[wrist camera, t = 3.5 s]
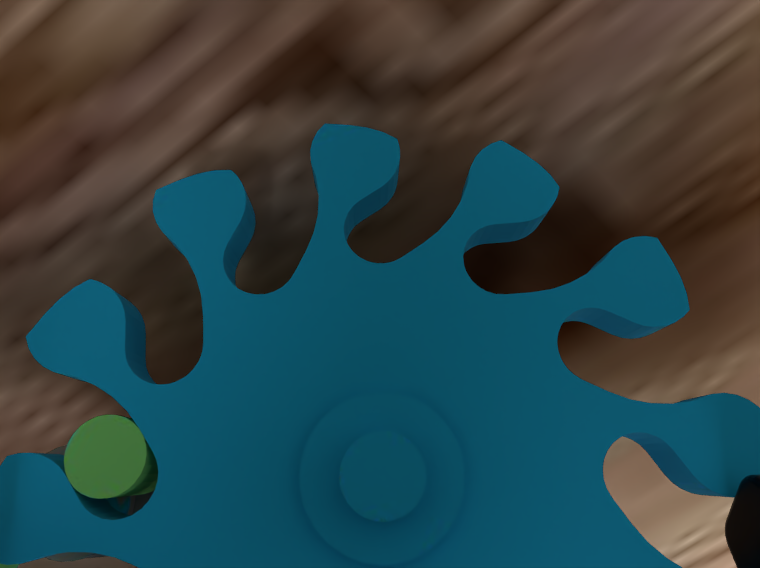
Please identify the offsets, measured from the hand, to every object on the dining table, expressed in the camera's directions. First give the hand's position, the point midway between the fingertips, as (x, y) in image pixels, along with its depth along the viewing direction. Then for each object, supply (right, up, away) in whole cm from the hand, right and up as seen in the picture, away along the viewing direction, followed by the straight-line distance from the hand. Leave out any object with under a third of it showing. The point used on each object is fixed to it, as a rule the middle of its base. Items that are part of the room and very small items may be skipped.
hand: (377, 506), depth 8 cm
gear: (-1, +2, +4) cm, 5 cm away
